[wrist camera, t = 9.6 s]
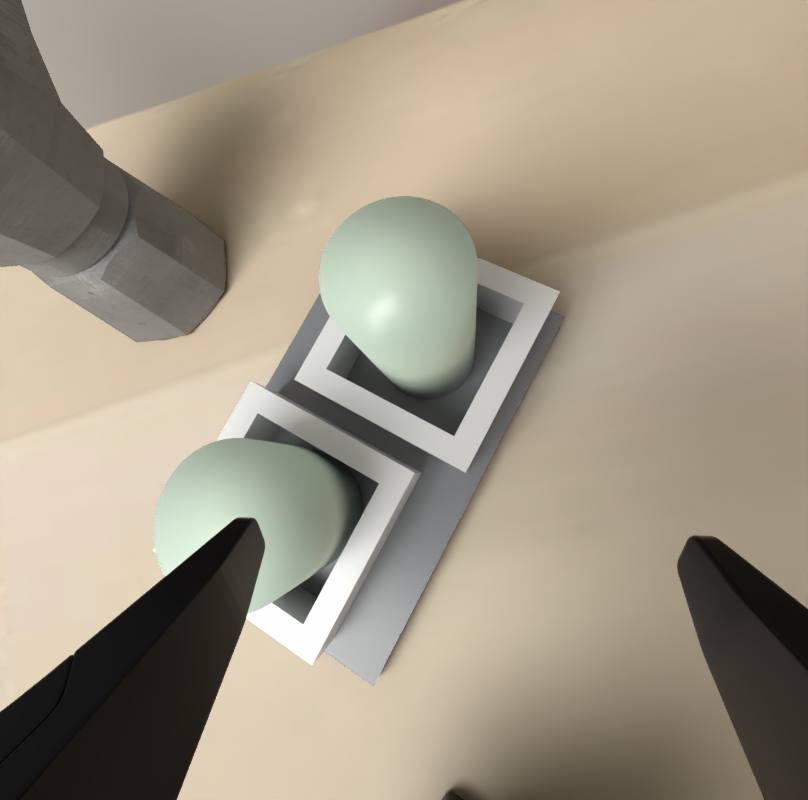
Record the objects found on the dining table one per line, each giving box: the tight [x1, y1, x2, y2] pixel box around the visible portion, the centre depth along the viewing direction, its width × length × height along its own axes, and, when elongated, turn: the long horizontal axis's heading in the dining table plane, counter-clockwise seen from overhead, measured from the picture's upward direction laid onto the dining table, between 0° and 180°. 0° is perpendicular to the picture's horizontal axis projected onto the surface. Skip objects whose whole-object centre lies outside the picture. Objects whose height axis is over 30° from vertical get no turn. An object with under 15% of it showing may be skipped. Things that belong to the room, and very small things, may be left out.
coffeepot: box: [0, 0, 227, 342], centre depth 19 cm, size 15×9×18 cm, turn 117°
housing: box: [153, 257, 564, 686], centre depth 19 cm, size 21×13×8 cm, turn 151°
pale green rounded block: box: [319, 196, 478, 399], centre depth 18 cm, size 5×5×10 cm
